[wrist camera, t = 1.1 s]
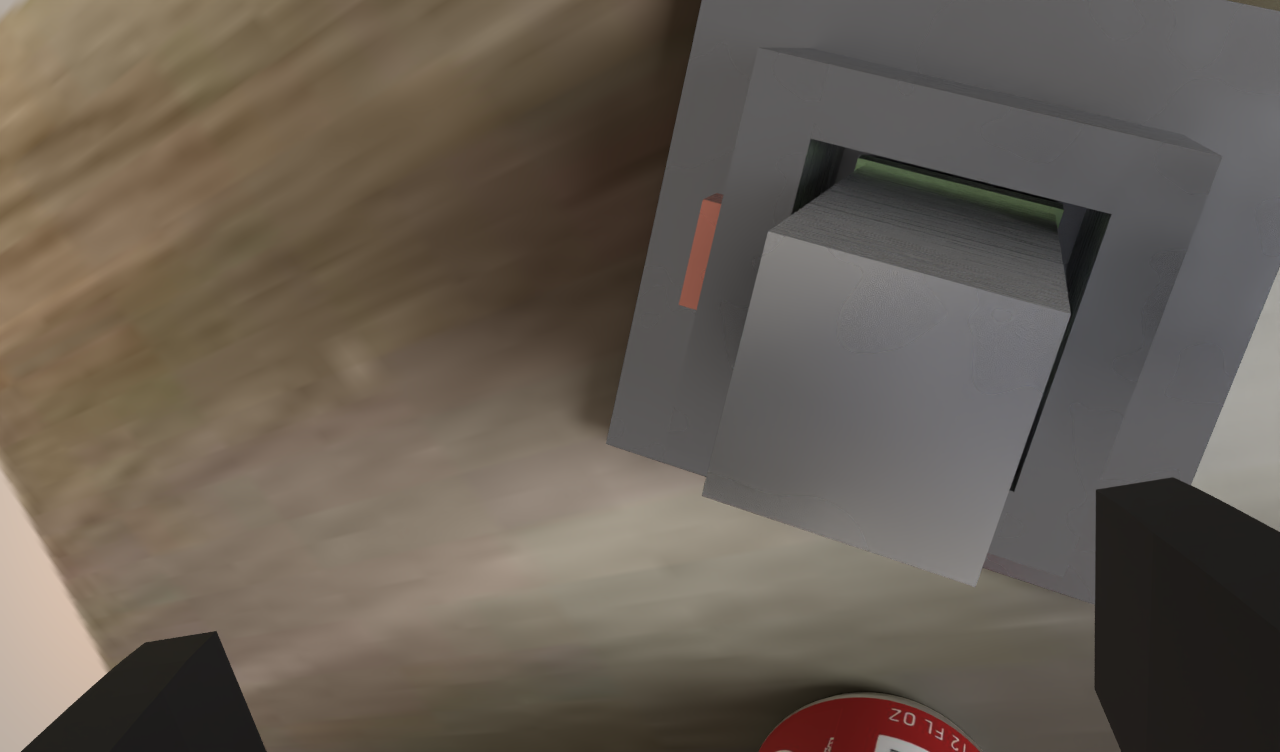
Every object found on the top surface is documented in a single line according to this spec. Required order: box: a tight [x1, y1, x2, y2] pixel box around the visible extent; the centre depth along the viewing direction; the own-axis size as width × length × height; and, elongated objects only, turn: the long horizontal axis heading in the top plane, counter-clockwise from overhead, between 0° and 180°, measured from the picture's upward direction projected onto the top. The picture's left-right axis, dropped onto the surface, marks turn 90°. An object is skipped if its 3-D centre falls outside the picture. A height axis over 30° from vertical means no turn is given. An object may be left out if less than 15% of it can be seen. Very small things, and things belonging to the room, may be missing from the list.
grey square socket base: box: [606, 0, 1280, 604], centre depth 18 cm, size 10×10×5 cm
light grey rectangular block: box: [702, 155, 1071, 587], centre depth 16 cm, size 3×3×8 cm
